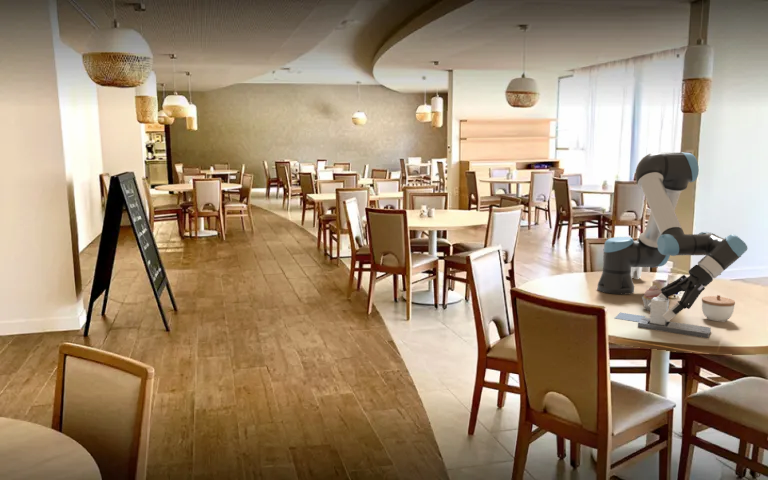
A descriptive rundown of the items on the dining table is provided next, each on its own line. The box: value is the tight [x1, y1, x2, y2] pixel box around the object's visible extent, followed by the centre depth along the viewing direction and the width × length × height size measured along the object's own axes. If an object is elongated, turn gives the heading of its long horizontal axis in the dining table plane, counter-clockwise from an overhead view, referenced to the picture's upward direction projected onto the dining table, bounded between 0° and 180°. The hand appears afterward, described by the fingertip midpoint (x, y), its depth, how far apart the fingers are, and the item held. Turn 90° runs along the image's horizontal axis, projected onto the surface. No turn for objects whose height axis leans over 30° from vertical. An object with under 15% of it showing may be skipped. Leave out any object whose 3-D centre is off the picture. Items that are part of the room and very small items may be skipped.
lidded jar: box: [701, 294, 736, 323], centre depth 228 cm, size 11×11×9 cm
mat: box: [614, 312, 646, 323], centre depth 230 cm, size 9×9×1 cm
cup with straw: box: [631, 238, 643, 280], centre depth 296 cm, size 8×9×20 cm
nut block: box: [649, 297, 670, 327], centre depth 218 cm, size 5×5×10 cm
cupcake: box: [641, 284, 662, 312], centre depth 242 cm, size 9×9×10 cm
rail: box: [637, 317, 712, 339], centre depth 216 cm, size 22×8×2 cm, turn 57°
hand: (657, 313), depth 217 cm, fingers open, 13 cm apart
